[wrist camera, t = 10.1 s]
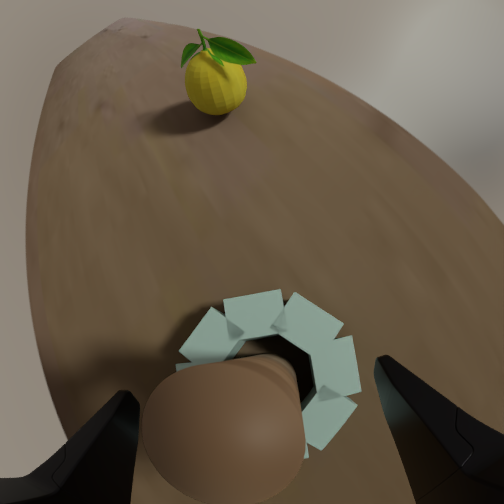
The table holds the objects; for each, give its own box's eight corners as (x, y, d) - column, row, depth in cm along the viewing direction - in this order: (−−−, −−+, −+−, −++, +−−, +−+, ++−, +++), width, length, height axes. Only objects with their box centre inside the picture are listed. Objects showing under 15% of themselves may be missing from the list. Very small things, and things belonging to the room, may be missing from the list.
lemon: (265, 121, 24) (250, 29, 14) (206, 142, 24) (170, 54, 15) (243, 86, 26) (225, 9, 17) (192, 104, 26) (161, 30, 17)
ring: (358, 432, 14) (367, 443, 12) (206, 453, 15) (194, 465, 13) (332, 286, 18) (339, 277, 16) (183, 313, 19) (169, 308, 16)
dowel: (290, 406, 16) (283, 519, 4) (239, 397, 16) (135, 476, 4) (300, 357, 17) (322, 381, 5) (249, 348, 17) (155, 344, 5)
